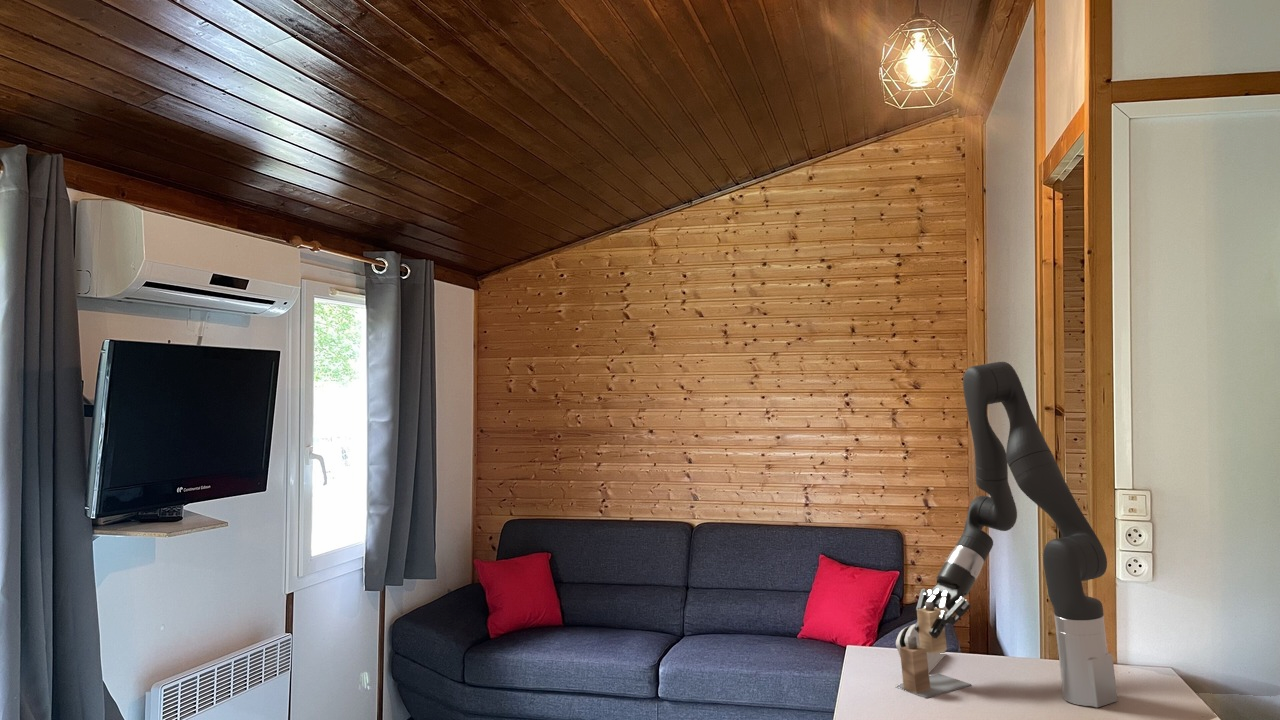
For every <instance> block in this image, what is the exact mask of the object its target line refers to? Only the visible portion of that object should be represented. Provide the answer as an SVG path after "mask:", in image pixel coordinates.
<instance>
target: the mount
mask: <svg viewBox="0 0 1280 720" xmlns="http://www.w3.org/2000/svg"><path fill="white" fill-rule="evenodd" d="M900 656H901V658H900V663H901V673H902V675H901V676H902V683H900V685H898V684H897V685H898V686H897V687H900V688H902V689H904V690H903V691H905V690H906V691H905V692H908V693H910V694H912V695H916V696H918V697H921V698H924V699H929V698H933V697H935V696H939V695H943V694H947V693H949V692H950V693H951V692H953V691H957V690H961V689H963V688H968V687H971V686H972V683H969V682H966V681H963V680H960V679H958V678H953V677H951V676H947V675H945V674H942V673H938V672H937V673H936V674H931V675H930V672H929V671H928V661H927V651H926V648H924V647H920V646H917V642H916V637H915V636H909V637H908V646H906V647H902V648H900V655H899V657H900ZM897 687H896V688H897ZM902 689H901V690H902Z"/></svg>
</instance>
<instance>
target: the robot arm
mask: <svg viewBox="0 0 1280 720" xmlns="http://www.w3.org/2000/svg"><path fill="white" fill-rule="evenodd" d="M962 380H963V381H962V387H963V395H964V401H965V402H964V403H965V406H966V411H967V417H968V421H969V425H970V426H969V427H970V430H971V435H972V436H971V437H972V441H973V447H974V449H973V450H974V461H975V462H974V465H975V466H974V467H975V483H976V486H977V488H978V489H980V490H982V491H983V492H985V493H987V494H988V495H989V496H987V495H979V496H977V497H975V498H974V499H972V501H971V502H970V504H969V506H968V512H967V516H966V520H965V525H964V527H963V532H962V534H961V536H960V537H959V539H958V541H957V543H956V545H955V546H954V548H953V549H952V550H951V552H950V553H949V555H948V557H947V558H946V560H945V562H944V564H943V565H942V566H941V569H940V570H939V572H938V574H937V576H936V585H935V586H933V587H932V589H928V590H927V589H926V588H924V587H923V588H922V589H921V590H920V592H919V596H918V601H917V605H916V607H915V610H916V611H917V610H918V609H922V608H925V602H933V605H934V608H938V609H940V612H939V614H938V619H936V620H935V622H934V624H933V626H932V627H931V629H930V631H929V634H930V635H931V636H932V637H933V638H937V637H938V636H939V635H940V634H941V632H942V630H943V628H944V626H945V627H946V626H947V625H949V624H951V625H956V623H957V622H958V621H959V619H961V618H962V616H963V615H964V614H966V612H967V611H968V610H969V609H970V608H971V603H969V602H968V600H967V599H966V598H964V597H967V596H968V594H969V593H970V591H971V589H972V587H973V586H974V584H975V582H976V581H977V579H978V576H979V575H980V573H981V571H982V568H983V566H984V563H985V561H986V559H987V558H988V555H990V553H991V551H992V548H993V546H994V540H993V538H992V537H991V536H990V535H989V534H988V533H987V532H985V531H984V530H983V528H984V527H987V528H990V529H993V530H997V531H1001V532H1008V531H1010V530H1011V529H1012V528H1013V527H1014V526H1015V524H1016V522H1017V519H1018V510H1017V505H1016V503H1015V499H1014V496H1013V493H1012V489H1011V486H1010V483H1009V475H1008V474H1009V472H1008V467H1009V470H1010V472H1011V474H1012V476H1013V478H1014V480H1015V483H1016V484H1017V486H1018V488H1019V489H1020V490H1021V491H1022V492H1023V494H1024V495H1025V496H1027V498H1029V499H1030V500H1031V502H1033V503H1035V505H1036V506H1038V507H1039V508H1040V509H1042V510H1043V511H1044V512H1045V513H1046V514H1047V515H1048V516H1049V518H1051V520H1052V521H1053V522H1054V524H1055V525H1056V527H1057V529H1058V530H1059V532H1060V534H1061V537H1057V538H1053V539H1051V540H1049V541H1048V542H1046V544H1045V545H1044V549H1043V552H1042V553H1043V554H1042V558H1043V559H1042V561H1043V562H1042V563H1043V570H1044V574H1045V575H1044V576H1045V582H1046V588H1047V594H1048V598H1049V601H1050V603H1051V605H1052V608H1053V614H1054V623H1055V633H1056V642H1057V653H1058V659H1059V661H1058V662H1059V669H1060V679H1061V687H1062V697H1063V700H1065V701H1066V702H1068V703H1070V704H1074V705H1078V706H1084V707H1093V708H1100V707H1104V706H1106V705H1110V704H1113V703H1115V702H1118V694H1117V685H1116V675H1115V667H1114V666H1115V665H1114V659H1113V658H1114V657H1113V654H1112V653H1109V652H1108V644H1107V635H1106V626H1105V616H1104V608H1103V607H1104V606H1103V603H1102V601H1101V600H1100V599H1098V598H1095V597H1092V596H1089V595H1088V596H1087V595H1086V594H1085V591H1084V589H1083V587H1084V586H1083V583H1082V582H1085V581H1091V580H1094V579H1098V578H1101V577H1103V576H1104V574H1105V573H1106V571H1107V569H1108V558H1107V555H1106V552H1105V549H1104V546H1103V544H1102V543H1101V541H1100V538H1098V536H1097V534H1096V533H1095V531H1094V529H1093V528H1092V526H1091V525H1090V523H1089V522H1088V520H1087V518H1086V517H1085V515H1084V513H1083V512H1082V510H1081V508H1080V507H1079V505H1078V503H1077V502H1076V499H1075V498H1074V496H1073V494H1072V492H1071V490H1070V488H1069V486H1068V484H1067V482H1066V480H1065V479H1064V476H1063V474H1062V471H1061V470H1060V467H1059V464H1058V463H1057V461H1056V459H1055V457H1054V455H1053V453H1052V450H1051V449H1050V447H1049V445H1048V444H1047V442H1046V439H1045V438H1044V436H1043V433H1042V432H1041V429H1040V427H1039V426H1038V423H1037V420H1036V418H1035V416H1034V414H1033V411H1032V409H1031V406H1030V404H1029V403H1030V402H1029V401H1028V398H1027V396H1026V393H1025V390H1024V387H1023V384H1022V382H1021V379H1020V377H1019V375H1018V373H1017V372H1016V369H1015V368H1014V367H1013V366H1012V365H1011V363H1009V362H1006V361H996V362H995V361H994V362H990V363H983V364H978V365H973V366H970V367H968V368H967V369H966V370H965V372H964V375H963V379H962ZM997 403H998V404H999V403H1001V404H1002V405H1003V407H1004V409H1005V411H1006V414H1007V417H1008V421H1009V422H1008V423H1009V433H1008V438H1007V443H1006V449H1005V447H1004V445H1003V443H1002V441H1000V438H999V437H998V436H997V434H996V433H995V431H994V430H993V428H992V426H991V424H990V422H989V417H988V406H989V405H993V404H997ZM954 614H955V615H954ZM914 624H915V630H916V631H917V632H918V633H919V627H918V620H917V621H916V622H915V623H914Z"/></svg>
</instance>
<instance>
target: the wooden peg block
mask: <svg viewBox="0 0 1280 720" xmlns="http://www.w3.org/2000/svg"><path fill="white" fill-rule="evenodd" d="M939 612H940V609H938V608H935V606H934V605H933V602H925V608H923V607H922V609H918V610H916V616H917V617H916V618H917V621H918V627H919V640H920V647H924V648H926V651H927V652H929V653H932V654H934V653H938V652H942V651H945V652H946V651H948V649H947V640H946V639H947V638H946V628H945V627H946V625H945V626H944V628H943V630H942V632H941V634H940V635H939V636H938V637H937V638H933V637H932V636H931V635H930V634H929V631H930V629H931V627H932V626H933V624H934V622H935V620H936V619H938V614H939Z"/></svg>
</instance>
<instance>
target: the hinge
mask: <svg viewBox="0 0 1280 720" xmlns="http://www.w3.org/2000/svg"><path fill="white" fill-rule="evenodd" d="M915 624H916V623H913V624H912V625H911V624H910V625H908V626H906V627H904V628H903V629H901V630H900V631H899V633H898V635H897V638H896V640H895V646H896V650H897V652H898V655H899V657H900V659H901V656H900V648H902V647H906V646H908V637H909V636H915V637H916V642H917V646H920V640H919V633H918V632H917V631H916V630H915ZM940 653H946V651H942V652H938V653H934V654H932V653H929V652H927V661H928V671H929V673H930V672H931V671H932V670H933V669H934V668H935V667H936V666H937V664H939V662H940V661H941V660H942V659H943V658H944V657H945V656H946V655H947V653H946V654H940Z"/></svg>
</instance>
